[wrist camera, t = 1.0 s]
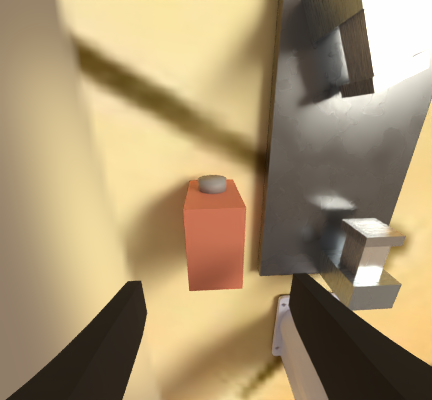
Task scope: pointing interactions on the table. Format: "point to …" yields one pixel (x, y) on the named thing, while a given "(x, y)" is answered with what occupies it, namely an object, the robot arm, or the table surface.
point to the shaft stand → (343, 140)
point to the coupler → (214, 234)
